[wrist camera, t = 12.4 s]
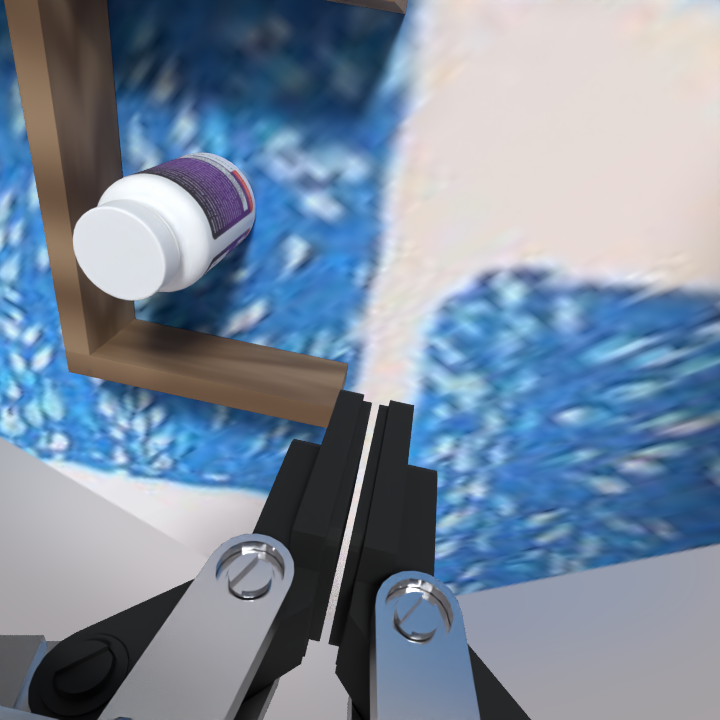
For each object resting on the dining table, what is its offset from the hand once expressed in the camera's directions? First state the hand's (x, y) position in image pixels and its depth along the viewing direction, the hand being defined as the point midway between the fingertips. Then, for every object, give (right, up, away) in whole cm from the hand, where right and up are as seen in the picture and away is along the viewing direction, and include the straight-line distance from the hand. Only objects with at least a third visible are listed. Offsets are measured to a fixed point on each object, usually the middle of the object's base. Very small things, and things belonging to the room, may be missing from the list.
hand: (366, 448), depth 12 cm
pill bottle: (-9, +11, +18) cm, 23 cm away
